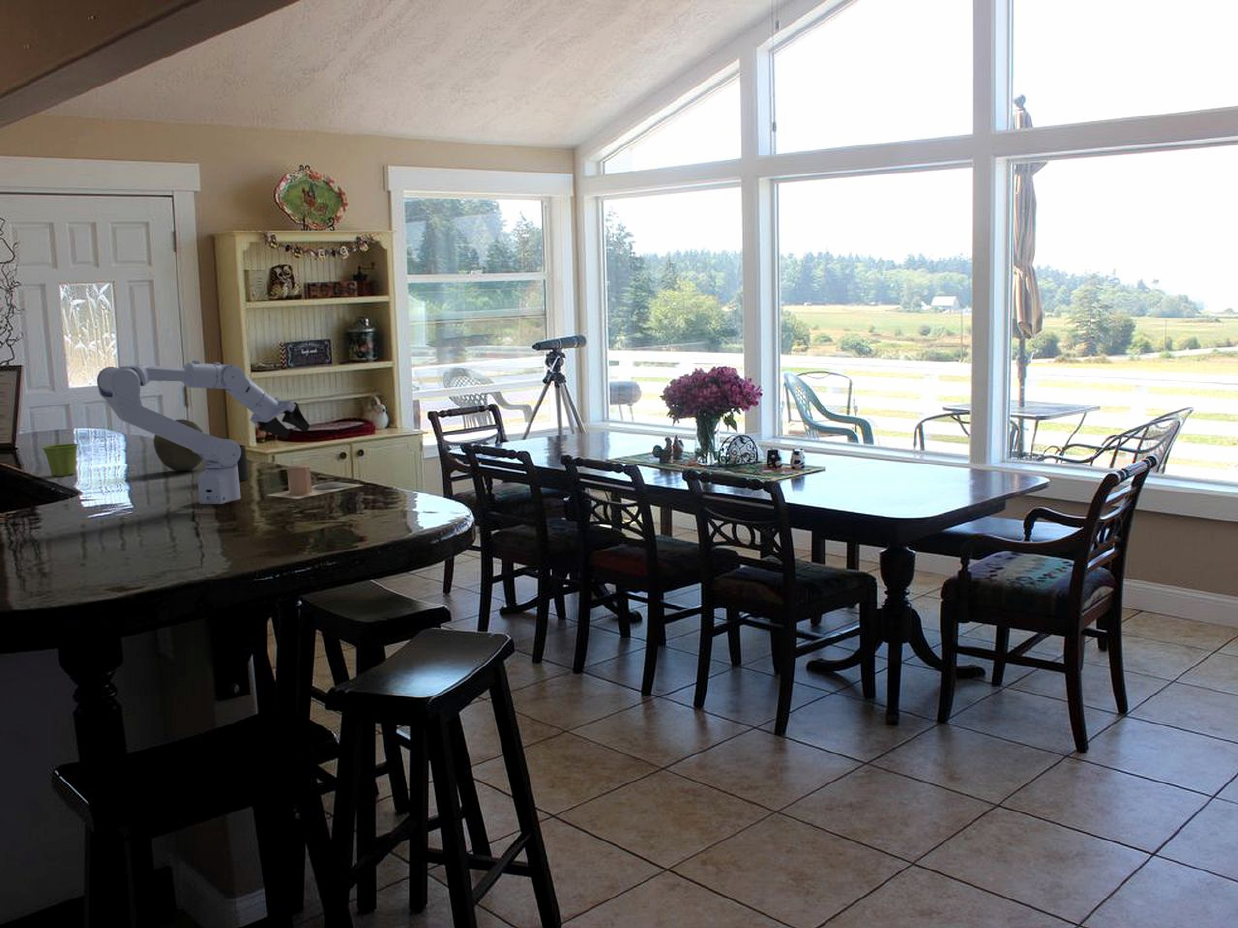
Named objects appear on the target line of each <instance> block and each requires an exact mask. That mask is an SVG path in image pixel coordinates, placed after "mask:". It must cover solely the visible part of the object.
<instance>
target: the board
mask: <svg viewBox="0 0 1238 928" xmlns="http://www.w3.org/2000/svg"><path fill="white" fill-rule="evenodd" d="M311 486H312V493H309V494H303V495H290V494H289V490H285V491H281V492H275V493H270V494H267V496H269V497H277V498H278V497H279V498H286V499H295V500H298V499H305V498H308V497H309V498H310V497H313V496H318V495H324V494H329V493H333V492H338V491H342V490H349V489H352V488H357V487H358V488H359V487H362V486H363V487H364V484H357V483H356V484H355V483H347V482H346V483H345V482H337V481H331V482H326V483H321V484H315V485H311Z"/></svg>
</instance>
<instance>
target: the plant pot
mask: <svg viewBox="0 0 1238 928" xmlns="http://www.w3.org/2000/svg"><path fill="white" fill-rule="evenodd" d="M78 446H79V443H61V444H60V443H59V444H54V445H47V446H42V448H41V449H43V451H44V453H45V455H46V458H47V462H48V466H49V469H50V473H51V477H68V476H70V475H71V476H72V475H73V476H74V475H76V464H77V463H76V462H77V461H76V459H77V457H76V455H77V450H78Z"/></svg>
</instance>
